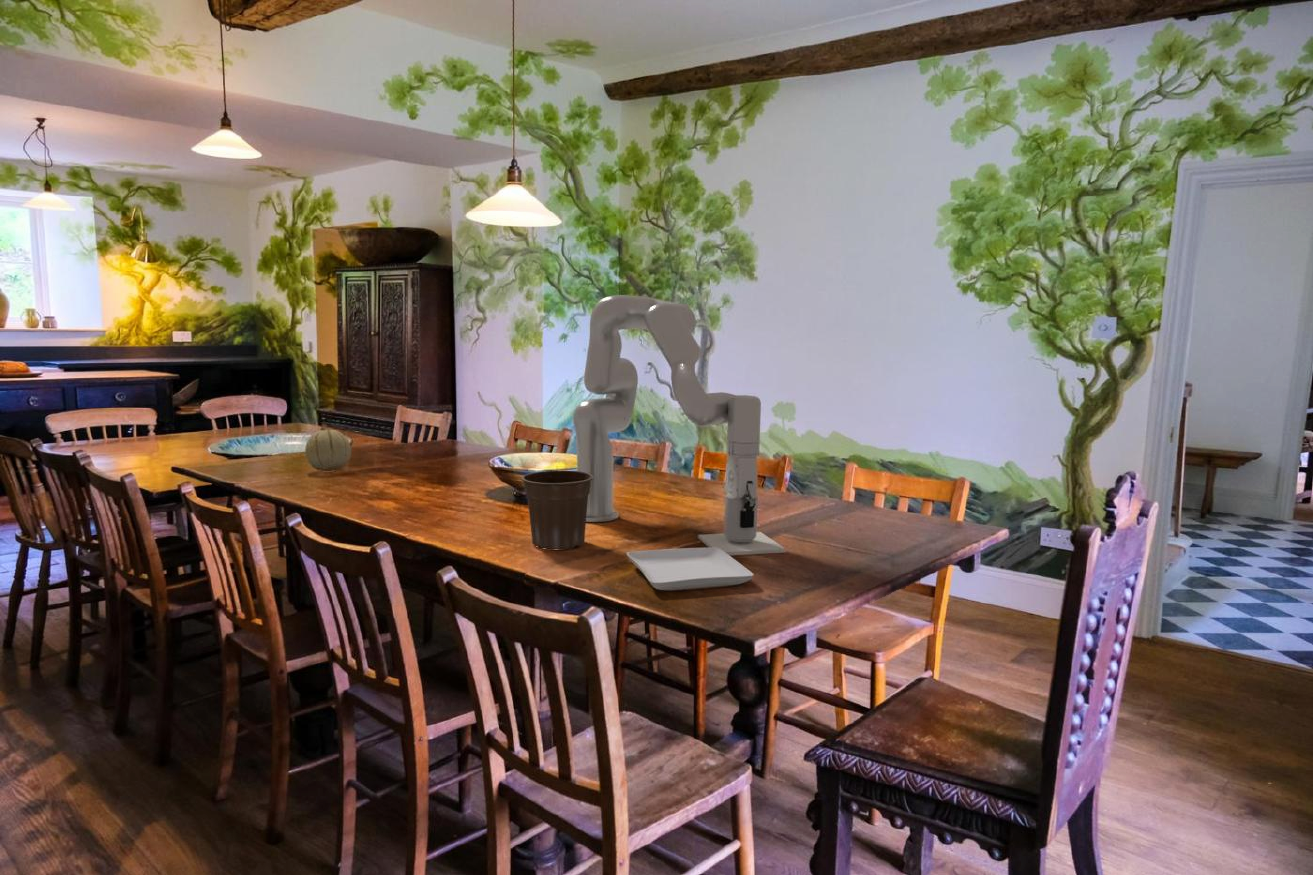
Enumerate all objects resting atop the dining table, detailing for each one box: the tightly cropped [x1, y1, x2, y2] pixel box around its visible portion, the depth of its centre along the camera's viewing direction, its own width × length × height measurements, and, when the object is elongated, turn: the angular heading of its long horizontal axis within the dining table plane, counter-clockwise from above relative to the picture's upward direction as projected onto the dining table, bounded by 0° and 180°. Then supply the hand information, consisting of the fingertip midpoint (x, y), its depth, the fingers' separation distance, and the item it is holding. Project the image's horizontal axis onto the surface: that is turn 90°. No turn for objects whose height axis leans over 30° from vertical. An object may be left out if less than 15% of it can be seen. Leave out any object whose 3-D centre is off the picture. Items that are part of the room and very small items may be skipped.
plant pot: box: [521, 469, 593, 550], centre depth 188 cm, size 16×16×16 cm
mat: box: [697, 531, 787, 556], centre depth 191 cm, size 16×16×1 cm
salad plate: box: [626, 547, 754, 591], centre depth 166 cm, size 21×21×3 cm
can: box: [723, 490, 759, 542], centre depth 190 cm, size 8×8×12 cm
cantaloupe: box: [304, 427, 352, 472], centre depth 277 cm, size 15×15×15 cm
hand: (740, 522), depth 190 cm, fingers closed on can, 7 cm apart
